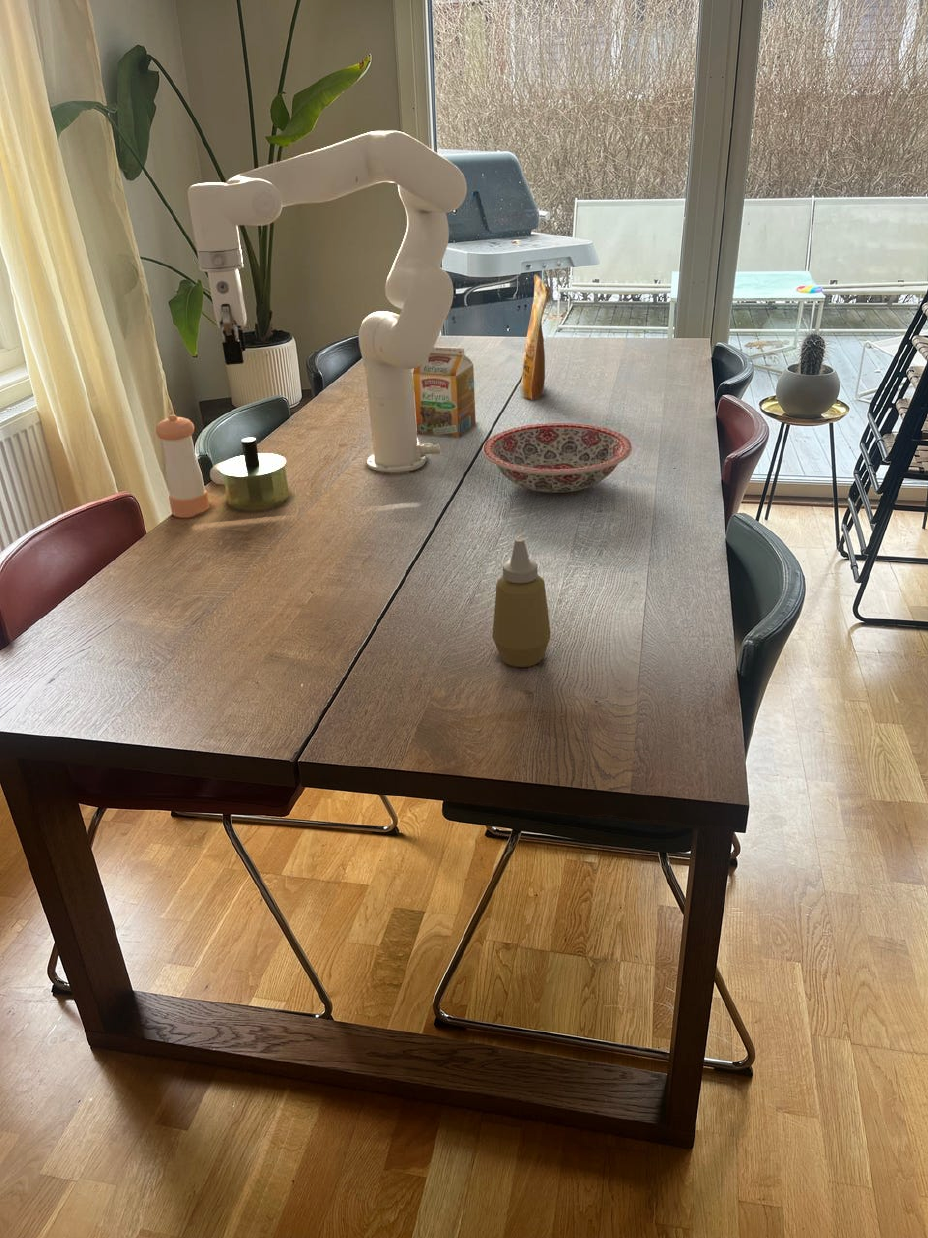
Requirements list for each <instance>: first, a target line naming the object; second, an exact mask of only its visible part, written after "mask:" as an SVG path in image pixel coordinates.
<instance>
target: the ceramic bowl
mask: <svg viewBox="0 0 928 1238" xmlns="http://www.w3.org/2000/svg"><path fill="white" fill-rule="evenodd" d="M632 451H633V444H632V442H631V440H630V439H629V438H628V437H626V436H625V435H623V434H621V433H620V432H618V431H615V430H612V429H610V428H605V427H602V426H596V425H591V424H585V423H572V422H571V423H570V422H553V423H552V422H550V423H538V424H537V423H536V424H530V425H522V426H518V427H513V428H511V429H507V430H504V431H501V432H499V433H497V434H495V435H492V436H491V437H490V438H488V439H487V440H486V441H485V442H484V444H483V446H482V454H483V457H484V458H485V459H486V460H487V461H488V462H490V463H491V464H494V465H495V466H496V468H497V469H498V470H499V472H500V473H501V474H502V475H503V476H504V477H506V479H508V480H509V481H510V482H512V483H514V484H515V485H518V486H520V487H521V488H525V489H527V490H531V491H534V492H535V491H536V492H541V493H557V494H560V493H571V492H578V491H581V490H584V489H588V488H591V487H593V486H595V485H597V484H599V483H600V482H602V481H603V480H605V479H606V478H607V477H609V476H610V475H611V474H612V473H613V471H615V469H616V468H617V466H618V465H619V464H620V463H622V462H624V461H625V460H627V459H628V458H629V457H630V456H631V454H632Z"/></svg>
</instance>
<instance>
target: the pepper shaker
mask: <svg viewBox="0 0 928 1238" xmlns="http://www.w3.org/2000/svg"><path fill="white" fill-rule="evenodd" d="M194 432H195V424H194V423H193V421H191V420H190V419H189V418H186V417H183V416H177V414H169V415H168V417H167V418H164V419H162V420H161V421H159V422H158V423H157V425H156V427H155V434H156V436H157V437H158V438H159V439H160V440H161V441H162V447H163V451H164V457H165V465H166V467H165V470H166V483H167V486H168V490H169V495H168V501H169V505H170V510H171V514H172V515H173V516H174V517H176V518H181V519H182V518H185V519H186V518H194V517H195V515H197V514H201V513H203V512H205V511H207V510H208V509H209V508H210V500H209V495H208V491H207V489H205V485H204V477H203V473H202V470H201V466H200V464H199V461H198V459H197V455H196V451H195V446H194V441H193V436H192V435H193V434H194ZM174 513H175V514H174Z"/></svg>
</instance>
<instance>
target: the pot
mask: <svg viewBox="0 0 928 1238" xmlns="http://www.w3.org/2000/svg"><path fill="white" fill-rule="evenodd" d="M287 476H288V475H287V470H286V467H285V468H284V469H283V470H281V471H279V472H277V473H275V474H272V475H269V476H265V477H260V478H254V479H233V478H228V477H225V476H223V479H224V485H223V486H224V490H225V495H226V500H227V504H228V505H229V506H231V507H233V508H236V509H240V510H259V509H260V510H261V509H266V508H270V507H274V506H277V505H279V504H281V503H284V502H285V501H286V500H287V499H288V498H289V497H290V492H289V483H288V477H287Z"/></svg>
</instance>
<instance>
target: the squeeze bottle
mask: <svg viewBox="0 0 928 1238" xmlns="http://www.w3.org/2000/svg"><path fill="white" fill-rule="evenodd" d="M538 569H539V568H538V563H537V562H536V561H535V560H533V559H531V558H530V557H529V554H528V549H527V546H526V541H525V539H524V538H523V537H518V538H516V539H514V544H513V549H512V553H511V557H510V559H508V560H506V561H505V562H503V564H502V576H500V577H499V578H498V579H497V580H496V586H495V598H494V610H493V612H494V613H493V622H492V624H493V625H492V636H491V638H492V640H493V642H494V645H495V647H496V649H497V652H498V654H499V657H500V659H501V660H502V662H503V663H504V664H506V665H508V666H511V667H515V668H528V667H532V666H535V665H538V664H539V663H540V662H541V661H542V660H543V658H544V655H545V653H546V651H547V648H548V645H549V642H550V640H551V626H550V617H549V609H548V608H549V607H548V599H547V592H546V591H547V590H546V582H545V579H544V578H543V577H542V576H541V575H540V574H539V573H538V572H539V570H538Z"/></svg>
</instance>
